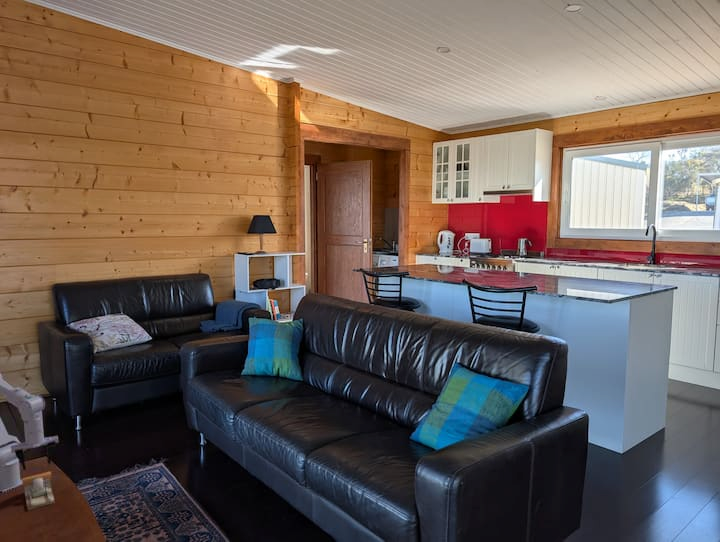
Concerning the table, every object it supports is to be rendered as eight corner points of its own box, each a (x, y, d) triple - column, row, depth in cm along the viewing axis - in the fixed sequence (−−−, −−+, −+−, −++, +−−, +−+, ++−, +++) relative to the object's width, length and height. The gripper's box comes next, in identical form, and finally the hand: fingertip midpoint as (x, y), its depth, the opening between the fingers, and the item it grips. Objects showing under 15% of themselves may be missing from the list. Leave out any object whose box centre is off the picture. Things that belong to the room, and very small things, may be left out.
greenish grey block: (31, 493, 189) (30, 479, 188) (44, 489, 191) (43, 476, 190) (32, 497, 186) (31, 483, 185) (45, 493, 188) (44, 480, 188)
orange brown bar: (22, 482, 190) (22, 478, 190) (50, 475, 195) (50, 471, 195) (22, 485, 188) (22, 481, 188) (51, 477, 193) (51, 473, 193)
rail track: (24, 492, 191) (23, 481, 191) (49, 485, 196) (49, 474, 195) (27, 510, 180) (27, 498, 180) (54, 502, 185) (53, 490, 184)
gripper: (10, 439, 181) (13, 476, 183) (58, 428, 190) (61, 464, 191) (9, 432, 187) (12, 468, 188) (55, 422, 195) (58, 457, 197)
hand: (36, 465), depth 190 cm, fingers open, 7 cm apart
